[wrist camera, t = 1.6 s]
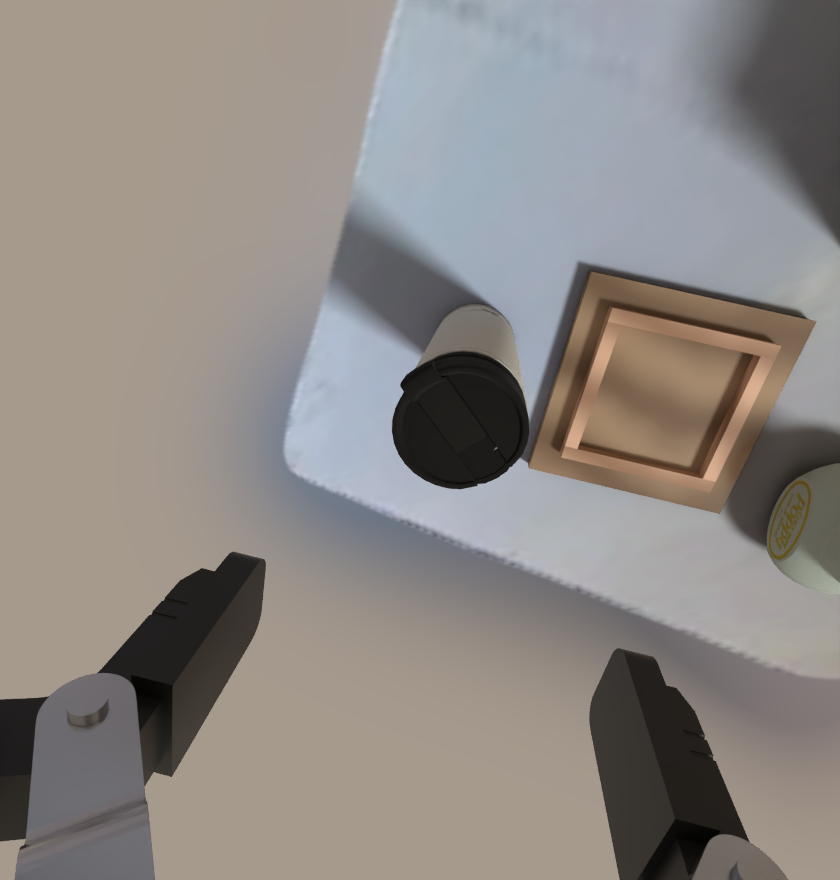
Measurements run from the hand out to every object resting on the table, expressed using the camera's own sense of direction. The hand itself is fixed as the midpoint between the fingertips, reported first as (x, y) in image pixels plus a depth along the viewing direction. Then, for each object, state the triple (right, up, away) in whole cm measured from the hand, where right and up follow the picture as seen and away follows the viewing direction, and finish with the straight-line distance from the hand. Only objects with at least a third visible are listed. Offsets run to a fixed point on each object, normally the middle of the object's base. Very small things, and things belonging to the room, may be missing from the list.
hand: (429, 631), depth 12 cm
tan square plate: (+18, +8, +29) cm, 35 cm away
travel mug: (+4, +12, +30) cm, 32 cm away
